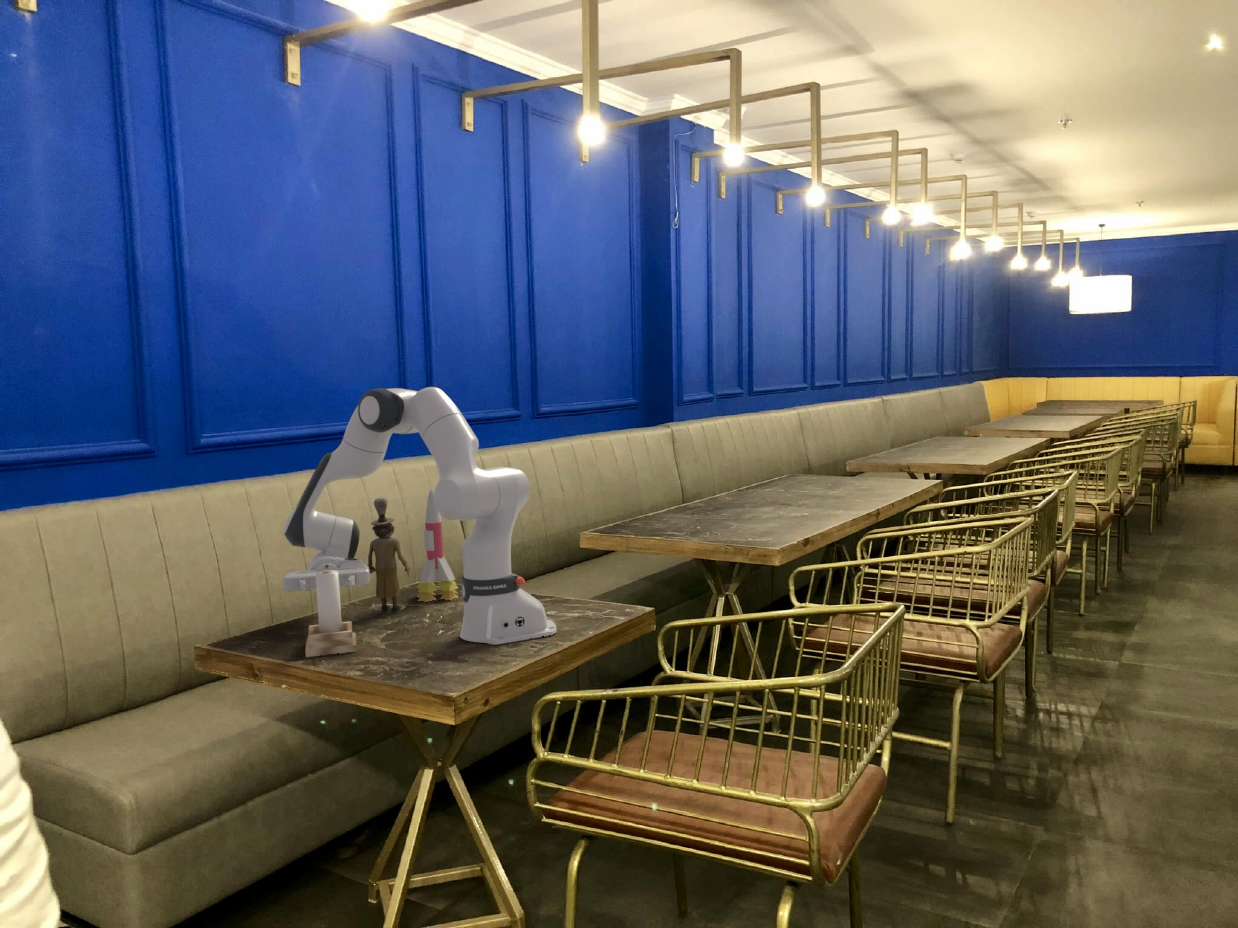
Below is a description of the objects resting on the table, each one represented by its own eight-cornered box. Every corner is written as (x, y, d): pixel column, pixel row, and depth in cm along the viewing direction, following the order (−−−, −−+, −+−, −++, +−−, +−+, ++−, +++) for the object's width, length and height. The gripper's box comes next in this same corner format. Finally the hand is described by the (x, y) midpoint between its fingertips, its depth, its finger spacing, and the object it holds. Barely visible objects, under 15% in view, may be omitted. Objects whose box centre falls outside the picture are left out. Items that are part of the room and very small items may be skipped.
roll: (342, 637, 229) (338, 568, 228) (342, 642, 224) (338, 572, 223) (320, 639, 228) (315, 570, 226) (319, 645, 223) (315, 574, 221)
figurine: (417, 605, 263) (411, 494, 260) (405, 615, 254) (398, 499, 251) (377, 606, 265) (370, 495, 261) (364, 615, 255) (356, 500, 252)
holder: (355, 638, 233) (354, 620, 233) (356, 651, 223) (355, 631, 222) (307, 644, 230) (305, 625, 230) (305, 657, 220) (304, 637, 219)
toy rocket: (435, 590, 280) (429, 485, 277) (468, 594, 274) (462, 487, 271) (406, 600, 270) (399, 491, 267) (439, 604, 264) (433, 493, 261)
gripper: (283, 565, 245) (280, 576, 232) (368, 558, 251) (370, 568, 238) (284, 590, 246) (282, 602, 233) (369, 582, 252) (371, 594, 238)
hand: (327, 585), depth 235 cm, fingers open, 8 cm apart
